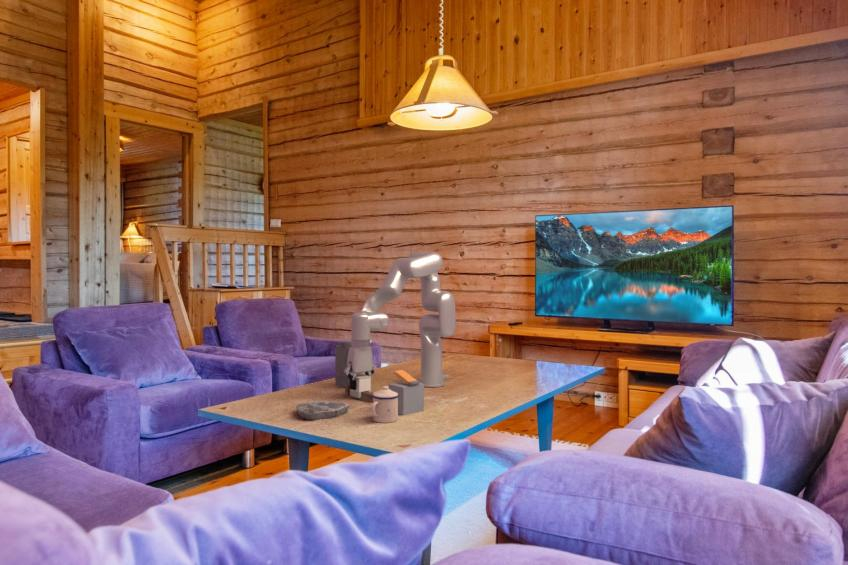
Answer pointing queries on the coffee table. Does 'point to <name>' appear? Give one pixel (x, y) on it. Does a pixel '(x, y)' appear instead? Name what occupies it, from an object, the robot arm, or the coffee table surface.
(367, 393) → the rail
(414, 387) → the cabinet
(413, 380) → the lever
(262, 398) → the coffee table surface
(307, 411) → the brain slice
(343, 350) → the hip flask
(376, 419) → the teacup with lid
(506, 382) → the coffee table surface
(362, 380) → the block
